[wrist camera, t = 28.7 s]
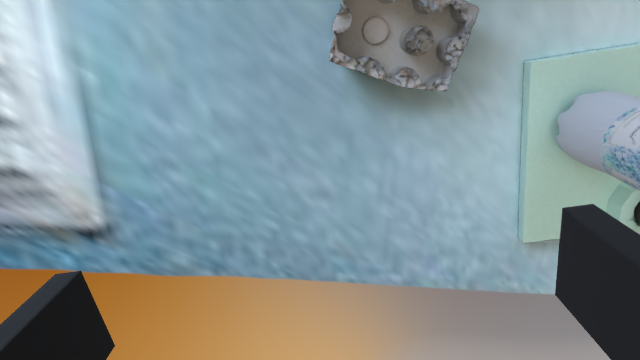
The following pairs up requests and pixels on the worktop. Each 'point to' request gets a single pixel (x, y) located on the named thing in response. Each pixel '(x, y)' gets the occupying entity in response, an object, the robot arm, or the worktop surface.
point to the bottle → (604, 134)
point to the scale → (550, 159)
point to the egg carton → (403, 39)
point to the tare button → (637, 212)
